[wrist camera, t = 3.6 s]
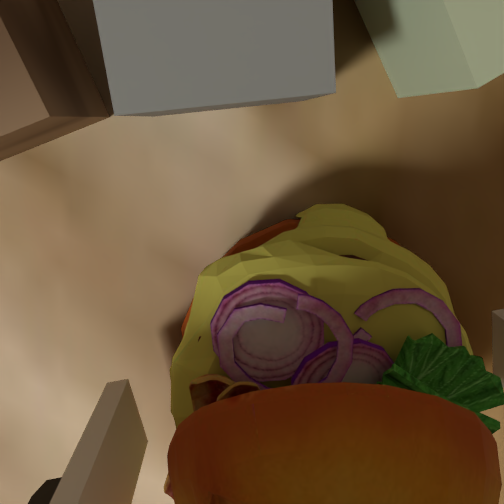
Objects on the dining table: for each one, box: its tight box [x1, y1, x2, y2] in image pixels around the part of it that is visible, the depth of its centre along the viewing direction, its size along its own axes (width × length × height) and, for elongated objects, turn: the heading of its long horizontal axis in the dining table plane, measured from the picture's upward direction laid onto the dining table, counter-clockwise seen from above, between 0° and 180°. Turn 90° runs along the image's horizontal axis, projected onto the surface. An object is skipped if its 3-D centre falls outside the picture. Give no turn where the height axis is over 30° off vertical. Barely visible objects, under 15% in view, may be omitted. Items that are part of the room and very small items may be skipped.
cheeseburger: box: [164, 204, 504, 504], centre depth 14 cm, size 10×11×10 cm
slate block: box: [93, 0, 336, 116], centre depth 11 cm, size 5×5×5 cm
